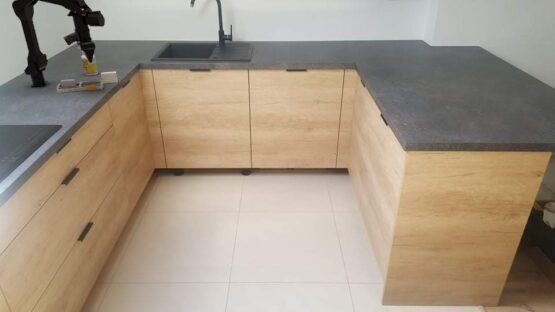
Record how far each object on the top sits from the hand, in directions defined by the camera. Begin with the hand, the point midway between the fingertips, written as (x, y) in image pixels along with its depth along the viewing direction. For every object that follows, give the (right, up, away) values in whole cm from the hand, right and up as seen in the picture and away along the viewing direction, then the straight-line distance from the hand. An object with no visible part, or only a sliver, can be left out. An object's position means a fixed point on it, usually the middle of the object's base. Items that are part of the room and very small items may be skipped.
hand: (89, 60), depth 192 cm
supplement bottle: (-10, -2, +24) cm, 26 cm away
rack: (-6, -13, +4) cm, 14 cm away
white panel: (+5, -8, +13) cm, 16 cm away
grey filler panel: (-11, -13, +3) cm, 17 cm away
